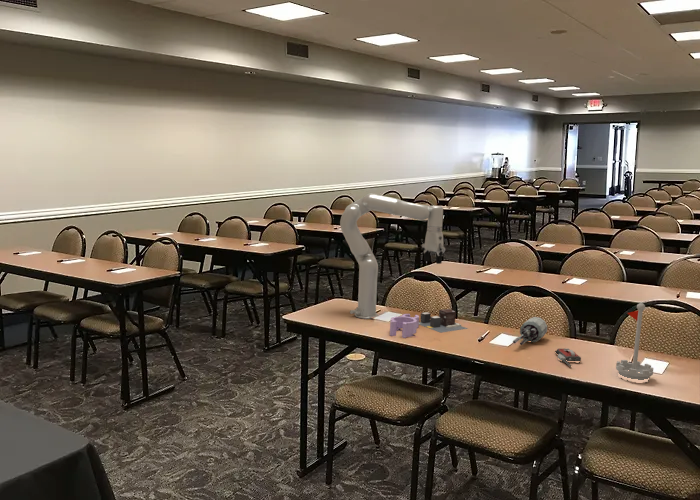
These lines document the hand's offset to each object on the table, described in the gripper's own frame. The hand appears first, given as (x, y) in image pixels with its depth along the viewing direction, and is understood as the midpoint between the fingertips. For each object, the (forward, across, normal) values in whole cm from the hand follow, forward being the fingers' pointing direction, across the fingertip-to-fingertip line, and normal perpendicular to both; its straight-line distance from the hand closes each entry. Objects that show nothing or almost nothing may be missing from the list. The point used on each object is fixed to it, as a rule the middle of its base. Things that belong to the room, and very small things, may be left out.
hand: (432, 262), depth 309 cm
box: (+29, -17, +3) cm, 34 cm away
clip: (+31, -16, +28) cm, 45 cm away
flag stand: (+31, -107, -13) cm, 112 cm away
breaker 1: (+29, -8, +10) cm, 32 cm away
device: (+31, -56, -12) cm, 65 cm away
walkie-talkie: (+31, -81, -8) cm, 87 cm away
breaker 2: (+29, -17, +11) cm, 35 cm away
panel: (+30, -17, +7) cm, 35 cm away
